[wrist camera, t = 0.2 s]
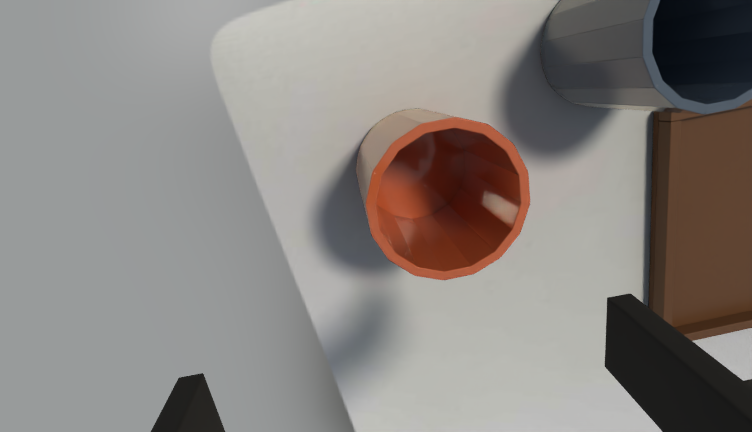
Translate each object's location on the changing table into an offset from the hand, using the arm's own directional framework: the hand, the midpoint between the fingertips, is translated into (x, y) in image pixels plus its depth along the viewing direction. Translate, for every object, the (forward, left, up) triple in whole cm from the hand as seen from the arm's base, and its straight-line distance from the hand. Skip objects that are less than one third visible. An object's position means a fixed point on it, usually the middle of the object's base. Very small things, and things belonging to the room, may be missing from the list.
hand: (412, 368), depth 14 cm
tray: (+6, +31, -18) cm, 36 cm away
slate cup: (-9, +18, -18) cm, 27 cm away
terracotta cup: (-3, +4, -18) cm, 19 cm away
